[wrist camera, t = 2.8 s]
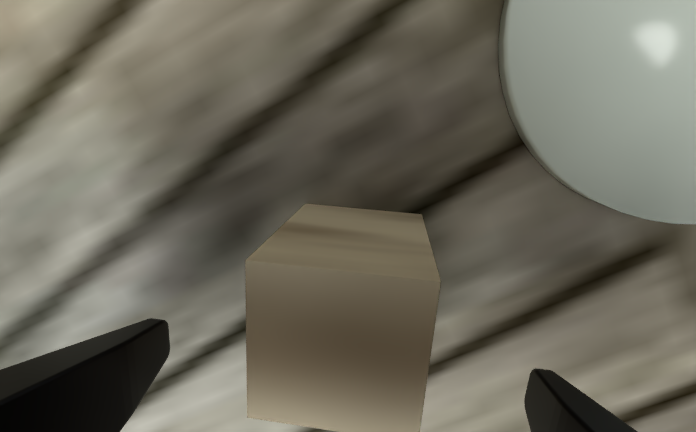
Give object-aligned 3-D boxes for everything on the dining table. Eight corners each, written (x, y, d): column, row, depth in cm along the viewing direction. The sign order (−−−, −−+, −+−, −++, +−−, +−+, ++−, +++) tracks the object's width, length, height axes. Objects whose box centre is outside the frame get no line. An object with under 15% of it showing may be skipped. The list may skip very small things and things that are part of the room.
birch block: (408, 319, 15) (417, 444, 9) (302, 306, 15) (247, 417, 10) (421, 214, 14) (441, 281, 8) (305, 203, 14) (245, 260, 8)
